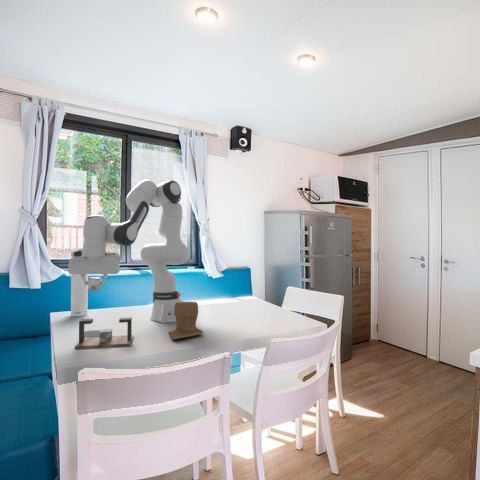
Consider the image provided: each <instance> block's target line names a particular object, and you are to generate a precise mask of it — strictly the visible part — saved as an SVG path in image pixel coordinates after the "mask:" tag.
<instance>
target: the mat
mask: <svg viewBox="0 0 480 480" xmlns="http://www.w3.org/2000/svg"><path fill="white" fill-rule="evenodd" d="M101 330H102V329H100V330H84V337H99V335H100V331H101Z"/></svg>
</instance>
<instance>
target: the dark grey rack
mask: <svg viewBox="0 0 480 480" xmlns="http://www.w3.org/2000/svg"><path fill="white" fill-rule="evenodd" d="M132 318H133V317H131V316H130V317H129V316H128V317H119V320H118V323H127V329H126V330H127V334H125V335H113V328H104V329H103V328H102V329H100V330H101V331H100V335H99V337H84V332H85V325H91V324H92V323H93V322H94V319H93V318H81V319H79V321H78V342H77V344H75V345H74V350H81V349H82V348H85V349H98V348H99V349H100V348H101V349H102V348H116V347H117V348H119V347H131V345H132V343H133V340H134V334H132V329H133V328H132V322H133V321H132ZM80 348H81V349H80ZM82 350H83V349H82Z"/></svg>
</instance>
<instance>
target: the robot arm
mask: <svg viewBox="0 0 480 480" xmlns="http://www.w3.org/2000/svg"><path fill="white" fill-rule="evenodd" d="M181 195H182V189H181V186H180V184H179V183H178V182H177V181H175V180H166V181H164V182H161V183H159V184H157V185H156V183H155V182H154V181H152V180H150V179H143V180H142V181H139V183H137V184H136V185H135V186H133V188H132V189H131V190H130V191H129V193H128V194H127V195H126V198H125V204H126V207H127V208H128V209H129V211H130V212H132V213H131V215H130V217H129V218H128V220H127V221H124V222H121V223H120V222H118V223H115V222H111V221H109V220H108V219H107V218H106V217H105V216H104V215H103V214H95V215H94V214H91V215H89V216H88V215H87V216H86V217H85V219H84V222H83V237H84V243H83V246H82V247H83V248H80V249H78V250H73V251H72V252H71V253H70V256H71V258H69V262H68V266H67V267H68V268H67V269H68V270H67V272H68V273H69V274H70V275H71V274H81V277H82V279H83V281H84V285H88V280H86V278H85V276H86V274H88V275H102V276H103V279H101V281H100V282H101V283H100V284H101V286H102V285H105V284H106V279H107V278H108V275H116V274H119V273H120V268H121V267H120V262H121V255H120V254H119V253H118V252H109V251H108V252H107V250H106V249H107V245H114V246H125V247H129V246H132V245H133V244H134V243H135V241H136V240H137V238H138V234H139V231H140V229H141V227H142V225H143V223H144V222H145V219H146V218H147V216H148V214H149V212H150V207H153V208H158V207H162V213H161V217H160V222H159V227H158V232H159V235H160V236H161V237H162V238H164V239H165V240H166V243H164V242H163V243H157V242H155V243H154V242H153V243H152V242H151V243H148V244H144V245H143V246H142V248H141V250H140V258H141V260H142V262H143V263H144V264H146V265H147V266H148V268H149V269H150V272H151V274H152V277H153V278H152V279H153V292H152V303H153V304H152V310H151V315H150V317H149V318H150V320H151V321H153V322H159V323H163V324H164V323H175V322H176V316H175V312H174V307H175V303H176V302H185V301H184V300H182V299H181V298H180V297H181V293H180V292H179V291H177V289H176V287H177V286H176V279H177V278H176V276H175V275H176V274H174V273H173V272H171V271H169V270H168V268H167V265H172V266H178V265H183V264H186V263H187V262H188V261H189V259H190V250H189V247H187V245H186V244H184V242H183V240H182V238H181V227H182V222H183V221H182V220H183V206H182V204H181V203H180V201H181ZM176 323H177V322H176Z"/></svg>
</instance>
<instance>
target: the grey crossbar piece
mask: <svg viewBox="0 0 480 480" xmlns="http://www.w3.org/2000/svg"><path fill="white" fill-rule="evenodd" d="M101 280H102V277H100V276H97V277H96V276H95V277H94V276H93V277H88V292H94V291H99V290H101V289H102V285H101V284H100V283H101V282H100V281H101Z"/></svg>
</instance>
